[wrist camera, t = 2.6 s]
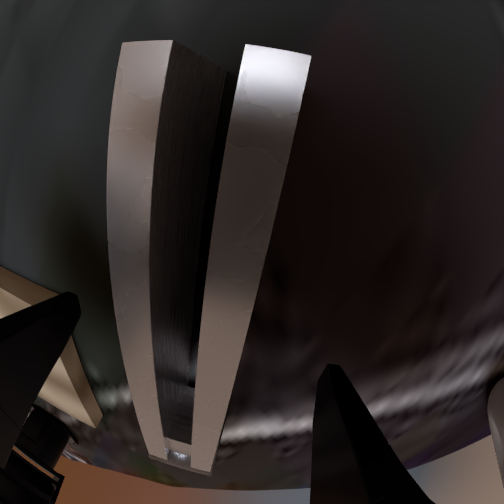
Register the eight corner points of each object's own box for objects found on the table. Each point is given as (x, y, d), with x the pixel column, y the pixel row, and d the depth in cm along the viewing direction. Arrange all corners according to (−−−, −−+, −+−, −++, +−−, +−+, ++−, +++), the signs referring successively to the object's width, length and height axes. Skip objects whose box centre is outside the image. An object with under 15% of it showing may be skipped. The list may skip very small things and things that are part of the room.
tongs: (222, 429, 16) (208, 482, 12) (171, 415, 16) (152, 465, 12) (306, 85, 7) (317, 57, 3) (191, 68, 7) (117, 43, 4)
